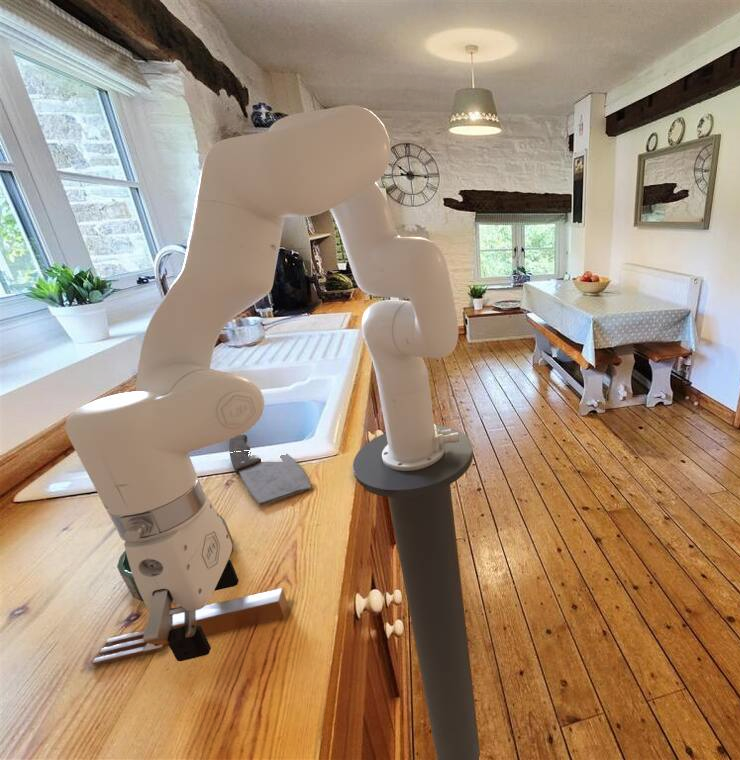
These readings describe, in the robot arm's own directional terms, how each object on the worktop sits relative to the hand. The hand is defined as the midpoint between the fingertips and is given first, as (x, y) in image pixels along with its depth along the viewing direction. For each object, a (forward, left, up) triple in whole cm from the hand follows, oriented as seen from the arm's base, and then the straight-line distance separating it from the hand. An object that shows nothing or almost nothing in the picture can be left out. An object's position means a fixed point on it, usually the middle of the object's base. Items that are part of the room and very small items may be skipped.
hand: (211, 618), depth 50 cm
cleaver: (+4, -37, -2) cm, 37 cm away
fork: (+3, 0, -2) cm, 3 cm away
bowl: (+8, -12, -2) cm, 15 cm away
